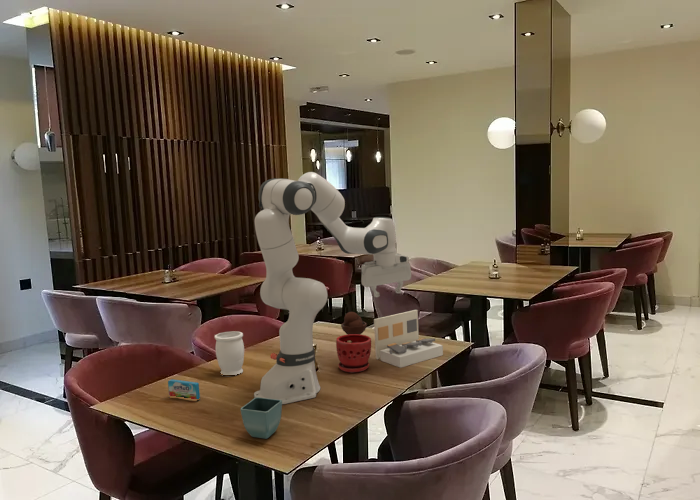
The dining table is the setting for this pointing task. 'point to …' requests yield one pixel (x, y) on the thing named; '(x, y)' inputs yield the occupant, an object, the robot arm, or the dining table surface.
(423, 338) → the switch far
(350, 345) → the plant pot
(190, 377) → the dining table surface
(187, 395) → the blue printed box
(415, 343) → the switch middle
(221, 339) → the jar
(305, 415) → the dining table surface
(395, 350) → the switch near
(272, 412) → the flower pot
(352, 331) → the ice cream bowl
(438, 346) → the switch unit
